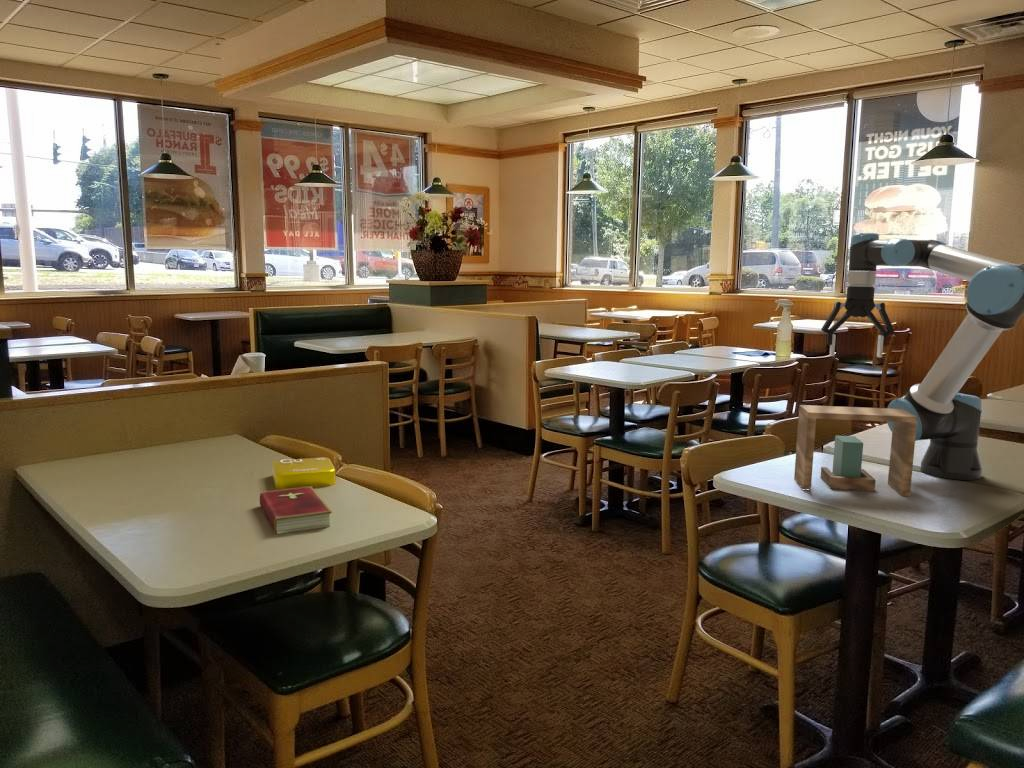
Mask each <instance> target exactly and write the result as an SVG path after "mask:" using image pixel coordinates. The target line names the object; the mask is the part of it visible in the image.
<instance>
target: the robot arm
mask: <svg viewBox="0 0 1024 768" xmlns="http://www.w3.org/2000/svg"><path fill="white" fill-rule="evenodd" d="M878 266H881V267H883V266H884V267H921V268H925V269H927V270H932V271H936V272H938V273H941V274H945V275H948V276H951V277H954V278H956V279H960V280H964V281H966V282H968V285H967V287H966V293H967V295H966V301H967V303H966V305H965V309H966V311H967V314H966V316H965V317H964V319H963V320H962V322H961V324H960V325H959V326H958V327H957V329H956V331H955V332H954V333H953V335H952V337H951V338H950V339H949V341H948V343H947V344H946V346H945V347H944V349H942V352H941V353H940V354H939V356H938V357H937V359H936V361H935V362H934V364H933V365H932V367H931V368H930V369H929V371H928V372H927V374H926V375H925V377H924V378H923V380H922V381H921V383H915V384H913V385H912V386H911V387H910V388H909V390H908V391H907V393H906V394H905V396H904V397H898V398H895V399H893V400H892V401H890V402H889V404H888V405H887V408H889V409H903V410H905V411H907V412H909V413H911V414H913V415H915V416H917V426H916V437H915V442H917V441H925V440H929V445H928V447H927V449H926V451H925V453H924V455H923V458H922V459H921V461H920V468H919V469H920V471H922V472H923V473H924V474H927V475H930V476H933V477H938V478H944V479H949V480H960V481H972V480H973V481H974V480H979V479H981V478H982V474H983V467H982V463H981V459H980V457H979V452H978V443H979V434H980V428H981V427H980V425H981V417H982V412H983V410H982V400H981V398H980V397H979V396H977V395H971V394H965V393H960V390H961V389H962V388H963V386H964V385H965V383H966V382H967V380H968V379H969V378H970V376H971V375H972V374H973V372H974V371H975V370H976V369H977V367H978V365H979V364H980V362H981V361H982V360H983V358H984V357H986V354H987V353H988V352H989V351H990V349H991V348H992V346H993V345H994V343H995V342H996V340H997V339H998V338H999V337H1000V335H1001V334H1002V333H1003V331H1009V330H1011V329H1013V328H1014V327H1015V326H1016V325H1017V323H1018V322H1019V320H1020V319H1021V318H1022V317H1023V315H1024V262H1022V263H1019V264H1017V263H1012V262H1009V261H1006V260H1001V259H997V258H996V257H995V258H994V257H991V256H987V255H984V254H980V253H976V252H973V251H969V250H966V249H962V248H957V247H954V246H950V245H947V244H946V243H945V242H944V241H942V240H935V239H927V240H925V239H907V238H887V239H880V236H879V234H878V233H876V232H863V233H861V232H859V233H854V234H853V235H852V236H851V239H850V246H849V262H848V275H847V284H848V285H849V286H847V289H846V298H845V302H840V301H835V302H834V306H833V309H832V310H831V312H830V314H829V315H828V317H827V319H826V320H825V322H824V324H823V325H822V327H821V329H820V330H821V332H823V333H825V334H826V335H827V337H826V345H828V346H829V354H828V355H829V357H835V351H836V350H835V348H836V336H837V335H836V334H834V333H835V332H836V331H837V330H838V329H839V328H840V327H841V326H842V325H843V324H844V323H845V322H846V321H847V320H848V319H849V318H852V317H853V318H859V317H860V318H866V317H867V319H868V320H869V321H870V322H871V323H872V325H874V327H875V328H876V329H877V330H878V332H879V333H880V334H881V335H880V334H879V335H877V336H878V337H877V347H876V357H877V358H883V349H884V347H886V346H887V342H888V336H889V335H892V334H894V333H895V329H894V327H893V325H892V322H891V319H890V318H889V315H888V314H887V311H886V303H885V302H882V301H881V302H877V303H875V301H874V300H875V299H874V298H875V289H876V288H875V287H874V285H876V278H877V276H876V275H877V267H878ZM843 307H844V309H845V310H846V311H845V312H844V313H843V314H842V316H840V317H839V319H837V320H836V322H835V323H834V324H833V322H834V321H835V319H836V317H837V315H838V314H839V312H840V310H842V309H843ZM875 308H876V310H877V311H878V313H879V315H880V318H881V319H882V322H883V325H884V326H883V325H882V324H881V323H880V321H879V319H877V317H876V316H875V315H874V313H873V312H872V311H873V310H874V309H875ZM832 324H833V325H832ZM831 325H832V326H831ZM886 423H887V426H888V428H889V430H890V432H891V433H892V430H893V422H887V421H886Z"/></svg>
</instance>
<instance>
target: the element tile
mask: <svg viewBox="0 0 1024 768" xmlns="http://www.w3.org/2000/svg"><path fill="white" fill-rule="evenodd" d="M271 465H272V470H271V471H272V479H273V482H274V486H275V489H276V490H283V489H292V488H301V487H312V488H315V487H316V488H317V487H327V486H333V485H336V483H337V482H336V477H337V476H336V468H335V466H334V464H333V462H332V461H331V459H330V458H328V457H325V456H323V457H321V456H320V457H310V458H309V457H307V458H297V459H296V458H295V459H293V458H292V459H291V458H284V459H281V460H274V461H273V462H272V464H271Z"/></svg>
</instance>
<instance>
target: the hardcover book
mask: <svg viewBox="0 0 1024 768" xmlns="http://www.w3.org/2000/svg"><path fill="white" fill-rule="evenodd" d="M259 506H260V508H261V510H262V512H263V513H264V515H265V517H266V519H267V522H268V523H269V525H270V527H271V529H272V531H273V532H274V535H278V534H285V533H292V532H301V531H307V530H315V529H322V528H324V529H325V528H330V527H331V526H330V514H332V510H331V509H330V508H329V506H328V505H327V504H326V502H324V500H323V499H322V498H321V497H320V494H318V493H317V492H316V490H315V489H314V487H301V488H292V489H275V490H268V491H267V490H266V491H261V492H260V493H259Z"/></svg>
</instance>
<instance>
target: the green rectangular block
mask: <svg viewBox="0 0 1024 768" xmlns="http://www.w3.org/2000/svg"><path fill="white" fill-rule="evenodd" d="M834 436H835V437H834V448H833V461H832V471H831V472H832V473H833V474H834V475H835V476H843V477H861V469H862V463H863V452H864V451H863V450H864V442H862V440H860V439H859V438H857V437H856V436H852V435H834Z"/></svg>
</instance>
